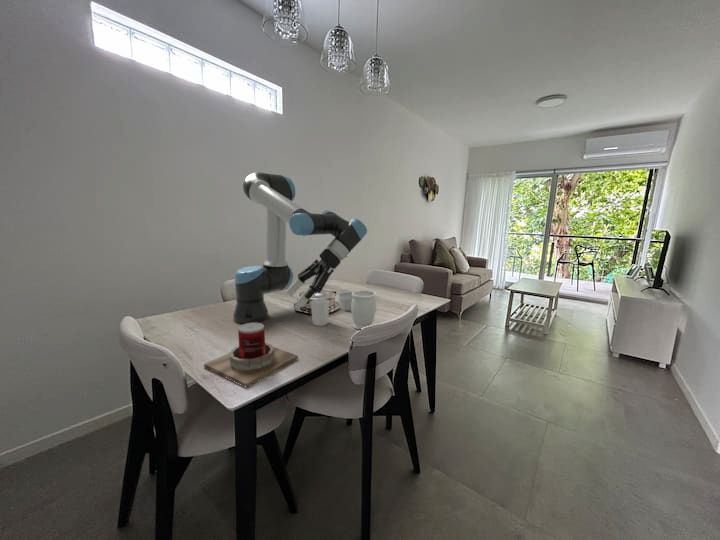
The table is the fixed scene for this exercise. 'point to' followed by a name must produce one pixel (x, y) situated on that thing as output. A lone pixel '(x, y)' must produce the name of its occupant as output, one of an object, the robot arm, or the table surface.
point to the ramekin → (345, 301)
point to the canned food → (251, 340)
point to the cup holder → (250, 365)
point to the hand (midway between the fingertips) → (293, 299)
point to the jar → (363, 308)
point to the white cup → (320, 311)
